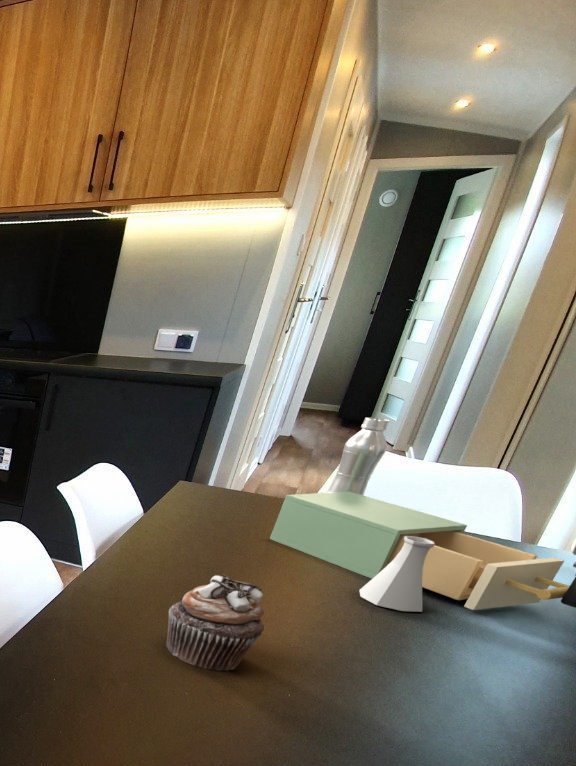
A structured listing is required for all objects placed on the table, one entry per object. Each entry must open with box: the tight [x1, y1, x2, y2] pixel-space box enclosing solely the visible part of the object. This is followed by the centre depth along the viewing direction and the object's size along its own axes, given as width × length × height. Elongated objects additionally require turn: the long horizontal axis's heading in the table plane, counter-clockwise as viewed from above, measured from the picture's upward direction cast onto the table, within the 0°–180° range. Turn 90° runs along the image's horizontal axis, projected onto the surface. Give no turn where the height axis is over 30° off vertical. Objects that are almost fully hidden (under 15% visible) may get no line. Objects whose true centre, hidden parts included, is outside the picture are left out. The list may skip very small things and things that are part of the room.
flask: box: [359, 536, 435, 613], centre depth 92 cm, size 7×7×10 cm
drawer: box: [385, 531, 570, 611], centre depth 96 cm, size 22×13×7 cm, turn 13°
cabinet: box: [269, 492, 468, 580], centre depth 110 cm, size 19×15×9 cm
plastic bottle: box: [325, 416, 390, 496], centre depth 127 cm, size 6×7×20 cm
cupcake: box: [165, 573, 265, 672], centre depth 77 cm, size 10×10×10 cm
